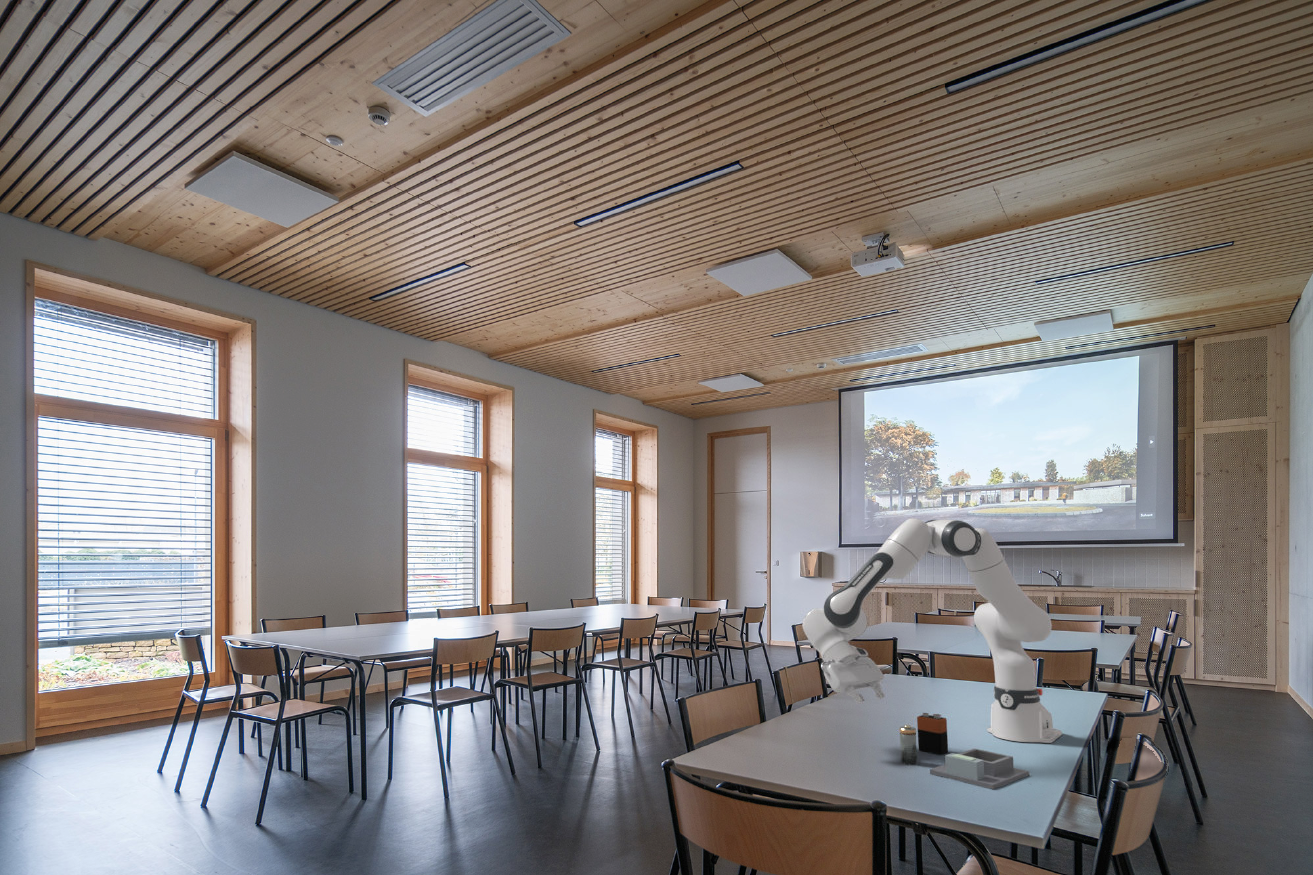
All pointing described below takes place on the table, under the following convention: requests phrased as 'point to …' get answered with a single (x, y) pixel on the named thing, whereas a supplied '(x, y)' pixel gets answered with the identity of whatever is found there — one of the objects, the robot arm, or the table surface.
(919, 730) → the battery
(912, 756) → the cell
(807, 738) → the table surface
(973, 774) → the tester
